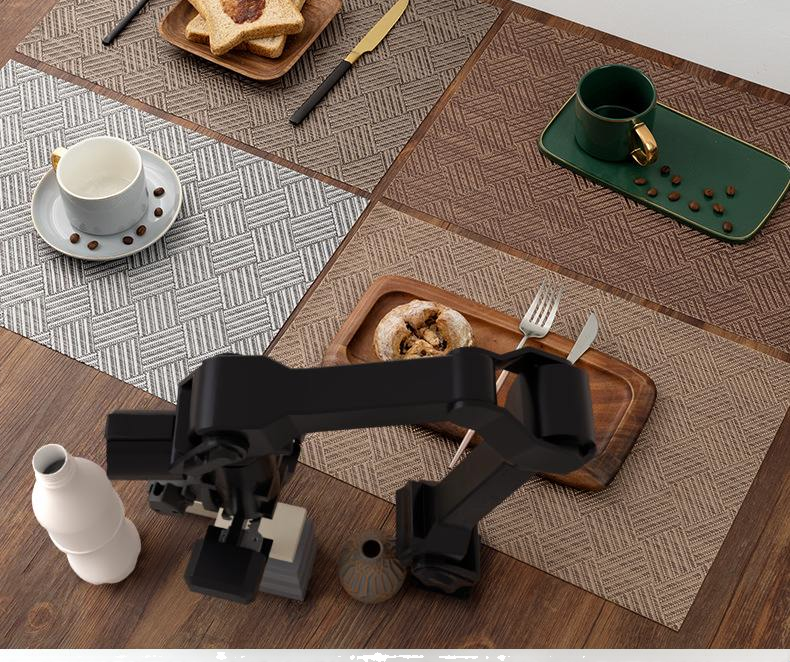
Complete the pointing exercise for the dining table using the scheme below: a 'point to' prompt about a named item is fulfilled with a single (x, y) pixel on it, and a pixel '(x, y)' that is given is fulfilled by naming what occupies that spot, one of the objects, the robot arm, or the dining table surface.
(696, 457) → the dining table surface
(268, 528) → the beige flat block
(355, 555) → the vase
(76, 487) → the water bottle
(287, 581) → the grey stack
